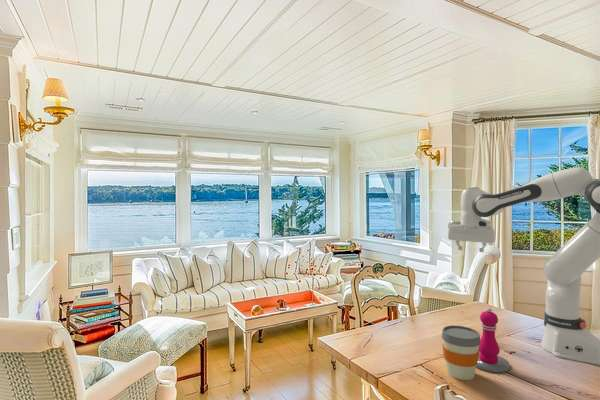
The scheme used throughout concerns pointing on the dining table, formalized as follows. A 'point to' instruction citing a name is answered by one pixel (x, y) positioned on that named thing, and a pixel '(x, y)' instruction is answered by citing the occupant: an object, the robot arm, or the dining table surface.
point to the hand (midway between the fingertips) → (470, 251)
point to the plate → (494, 365)
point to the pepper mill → (488, 338)
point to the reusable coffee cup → (461, 351)
